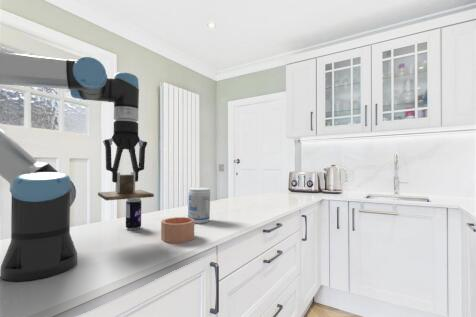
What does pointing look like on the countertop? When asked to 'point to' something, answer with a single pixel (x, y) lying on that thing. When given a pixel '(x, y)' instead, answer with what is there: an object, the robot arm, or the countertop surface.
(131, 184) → the walnut lid
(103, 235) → the countertop surface
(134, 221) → the beverage can
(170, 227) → the terracotta bowl
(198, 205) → the supplement tub
